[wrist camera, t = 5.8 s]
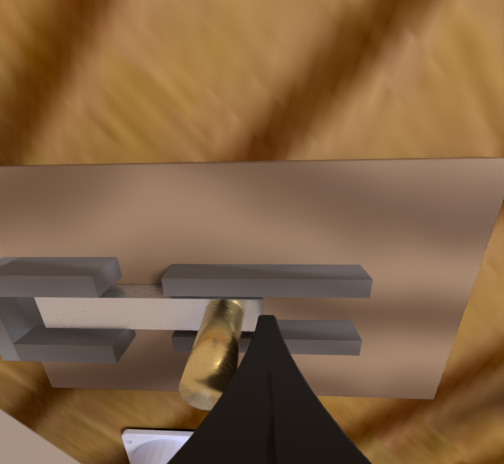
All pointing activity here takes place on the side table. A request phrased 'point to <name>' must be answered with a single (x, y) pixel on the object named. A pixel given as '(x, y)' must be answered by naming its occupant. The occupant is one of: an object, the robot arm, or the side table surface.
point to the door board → (251, 262)
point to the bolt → (169, 328)
